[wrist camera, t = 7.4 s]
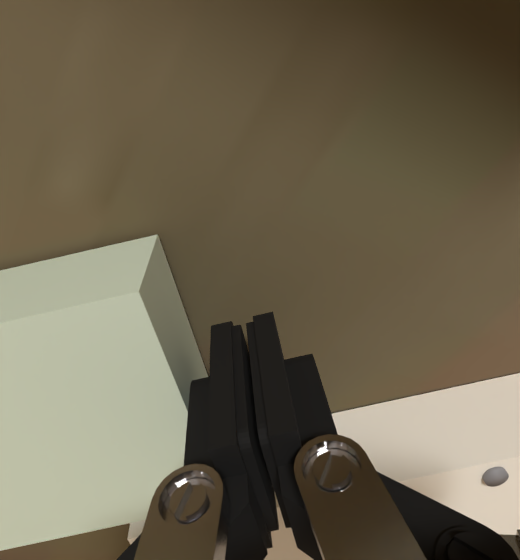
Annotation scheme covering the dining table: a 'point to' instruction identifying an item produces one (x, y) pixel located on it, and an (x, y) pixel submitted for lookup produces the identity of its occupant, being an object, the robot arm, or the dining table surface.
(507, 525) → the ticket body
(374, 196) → the dining table surface
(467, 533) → the robot arm
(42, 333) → the pale green flat slab
